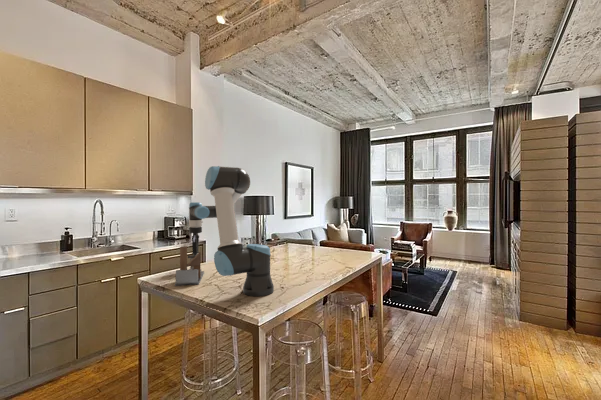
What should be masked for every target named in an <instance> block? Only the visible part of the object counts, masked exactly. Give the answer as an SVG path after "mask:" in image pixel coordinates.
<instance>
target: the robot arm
mask: <svg viewBox="0 0 601 400" xmlns="http://www.w3.org/2000/svg"><path fill="white" fill-rule="evenodd" d="M204 186H205V189H206V190H209V191H210V195H211V196H213V197H214V205H202V202H195V201H193V202H191V201H190V203H189V207H188V210H189V211H188V212H189V213H188V217H189V218H188V225H189V228H188V229H189V230H188V232H189V233H190V234H192V235H191V245H192V251H191V254H192V255H197V254H198V253H199V252H200V251H199V242H200V240H199V239H200V234H201V233H202V232H203V227H202V225H203V223H204V221H203V220H204V219H216V220H217V227H218V235H219V237H218V238H219V245H218V247H217V250H216V251H215V253H214V255H213V256H214V258H213V261H214V267H215V269H216V272H217V273H218V274H219V275H220V276H223V277H228V276H229V277H230V276H231V277H232V276H234V275H241V274H246V277H245V281H244V283H243V286H242V293H243V294H244V295H245V296H250V297H263V296H267V295H272V293H274V292H275V288H274V287H275V285H274V283H273V280H272V277H271V256H272V254H271V248H270V247H269V246H268V245H265V244H260V243H259V244H258V243H248V244H246V245H245V246H246V247H244V245H243V242H241V241H240V240H239V235H238V234H239V233H238V227H237V219H236V214H235V207H234V205H235V204H236V203H237V201H238V200H239V199H240V198H241V197H242V195H243V194H246V192H247V191H248V190H249V188H250V187H251V178H250V174H248V172H247V171H246V170H245V169H244V168H241V167H234V166H233V167H231V166H230V167H229V166H220V165H218V166H210V167H208V169H207V171H206V175H205V179H204Z"/></svg>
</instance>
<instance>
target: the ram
mask: <svg viewBox="0 0 601 400" xmlns="http://www.w3.org/2000/svg"><path fill="white" fill-rule="evenodd" d="M195 256H196V255H193V254H192V255H191V254H190V255H187V259H189V260H190V261H191V260H192V259H193V258H194V257H195ZM190 261H189V262H190ZM189 267H190V268H189V269H193V266H189Z"/></svg>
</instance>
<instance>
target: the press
mask: <svg viewBox="0 0 601 400" xmlns="http://www.w3.org/2000/svg"><path fill="white" fill-rule="evenodd" d="M204 274H205V270H201V277H200V278H198V269H190V268H189V269H188V268H187V270H180V269H176V270H175V282H174V287H179V286H195V285H196V286H197V285H198V286H199V285H200V284H201V281H202V278H203V276H204Z"/></svg>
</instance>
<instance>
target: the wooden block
mask: <svg viewBox="0 0 601 400" xmlns="http://www.w3.org/2000/svg"><path fill="white" fill-rule="evenodd" d="M198 252H199V253H198V254H197V255H196V256H195V257H194V258H193V259H192V260H191V261H189V262H188V246H186V245H185V246H184V245H182V246H180V247H179V270H188V267H190V266H193V269H198V278H200V277H201V271H202V268H201V267H202V266H201V252H200V251H198Z"/></svg>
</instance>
